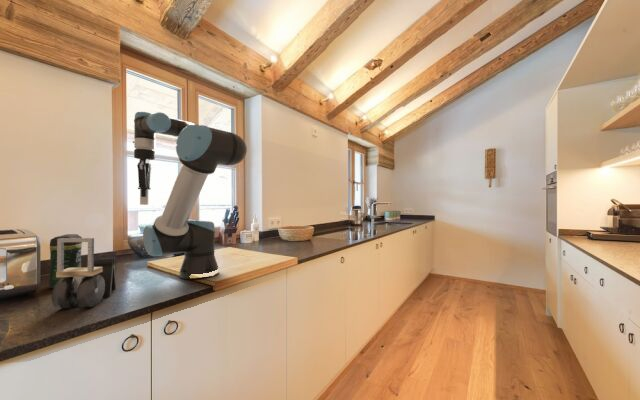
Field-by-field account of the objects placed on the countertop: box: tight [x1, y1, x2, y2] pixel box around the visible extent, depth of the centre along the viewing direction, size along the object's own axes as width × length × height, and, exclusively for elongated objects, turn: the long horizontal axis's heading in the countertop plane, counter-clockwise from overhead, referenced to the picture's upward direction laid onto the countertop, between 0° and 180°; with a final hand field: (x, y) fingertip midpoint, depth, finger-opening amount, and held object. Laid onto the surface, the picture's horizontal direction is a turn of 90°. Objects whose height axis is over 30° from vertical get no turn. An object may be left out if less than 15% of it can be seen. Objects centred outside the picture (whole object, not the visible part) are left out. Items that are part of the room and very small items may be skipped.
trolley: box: [51, 237, 105, 310], centre depth 81 cm, size 9×9×20 cm
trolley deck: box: [56, 266, 103, 277], centre depth 81 cm, size 9×5×2 cm, turn 101°
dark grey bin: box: [94, 256, 117, 299], centre depth 92 cm, size 9×6×12 cm, turn 25°
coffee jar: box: [48, 233, 83, 289], centre depth 100 cm, size 10×8×19 cm
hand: (144, 204), depth 117 cm, fingers closed
